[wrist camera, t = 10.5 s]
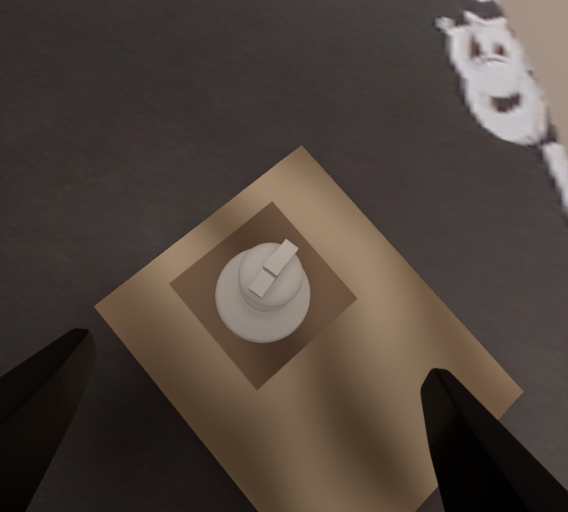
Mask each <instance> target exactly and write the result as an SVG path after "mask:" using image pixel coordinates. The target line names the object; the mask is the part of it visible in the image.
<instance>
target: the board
mask: <svg viewBox="0 0 568 512" xmlns="http://www.w3.org/2000/svg"><path fill="white" fill-rule="evenodd" d="M285 239H287V240H288V241H290V242H291V243H292V244H294V245H295V246H296V247H298V250H297V252H296V253H295V254H296V255H297V257H298V258H299V260H300V262H301V265H302V268H303V270H304V271H305V273H306V276H307V278H308V281H309V285H310V304H309V308H308V311H307V314H306V316H305V318H304V320H303V321H302V323H301V324H300V325H299V327H298V328H297V329H296V330H295V331H293V332H292V333H291V334H290V335H288V336H286V337H285V338H283V339H280V340H278V341H274V342H269V343H256V342H251V341H248V340H245V339H243V338H241V337H239V336H237V335H236V334H234V333H233V332H232V331H231V330H230V329H229V328H228V327H227V326H226V325H225V324H224V322H223V321H222V319H221V317H220V315H219V313H218V310H217V306H216V300H215V291H216V285H217V281H218V278H219V276H220V274H221V272H222V270H223V269H224V267H225V266H226V265H227V263H228V262H229V261H230V260H231V259H233V258H234V257H235V256H236V255H238V254H240V253H241V252H243V251H246V250H249V249H252V248H253V247H255V246H257V245H260V244H263V243H278V244H281V245H282V243H283V242H284V241H285ZM94 307H95V308H96V310H97V311H98V312H99V313H100V315H101V316H102V317H103V318H104V320H105V321H106V322H107V323H108V325H109V326H110V327H111V328H112V330H113V331H114V332H115V333H116V335H117V336H118V337H119V338H120V340H121V341H122V342H123V343H124V345H125V346H126V347H127V348H128V350H129V351H130V352H131V353H132V355H133V356H134V357H135V358H136V360H137V361H138V362H139V363H140V365H141V366H142V367H143V368H144V370H145V371H146V372H147V373H148V375H149V376H150V377H151V378H152V380H153V381H154V382H155V383H156V385H157V386H158V387H159V388H160V390H161V391H162V392H163V393H164V395H165V396H166V397H167V398H168V400H169V401H170V402H171V403H172V405H173V406H174V407H175V408H176V410H177V411H178V412H179V413H180V415H181V416H182V417H183V418H184V420H185V421H186V422H187V423H188V425H189V426H190V427H191V428H192V430H193V431H194V432H195V433H196V435H197V436H198V437H199V438H200V440H201V441H202V442H203V443H204V445H205V446H206V447H207V448H208V450H209V451H210V452H211V453H212V455H213V456H214V457H215V458H216V460H217V461H218V462H219V463H220V465H221V466H222V467H223V468H224V470H225V471H226V472H227V473H228V475H229V476H230V477H231V478H232V480H233V481H234V482H235V483H236V485H237V486H238V487H239V488H240V490H241V491H242V492H243V493H244V495H245V496H246V497H247V498H248V500H249V501H250V502H251V503H252V505H253V506H254V507H255V508H256V510H257V511H258V512H415V511H416V510H417V509H418V508H419V507H420V506H421V504H422V503H423V502H424V501H425V500H426V499H427V498H428V497H429V496H430V494H431V493H432V492H433V491H434V490H435V489H436V488H437V487H438V483H437V479H436V475H435V472H434V468H433V464H432V460H431V456H430V452H429V447H428V441H427V435H426V428H425V422H424V415H423V409H422V402H421V396H420V389H421V386H422V384H423V382H424V380H425V378H426V377H427V375H428V373H429V371H430V370H431V369H432V368H441V369H447V370H449V371H450V372H451V373H452V374H453V375H454V376H455V377H456V378H457V379H458V380H459V381H460V382H461V383H462V384H463V385H464V386H465V387H466V388H467V389H468V390H469V391H470V392H471V393H472V394H473V395H474V396H475V397H476V398H477V399H478V400H479V401H480V402H481V403H482V404H483V405H484V407H485V408H486V409H487V410H488V411H489V412H490V413H491V414H492V415H493V416H494V417H495V418H496V419H497V420H498V419H499V418H500V417H501V416H502V415H503V414H504V413H505V412H506V410H507V409H508V408H509V407H510V406H511V405H512V404H513V403H514V402H515V400H516V399H517V398H518V397H519V396H520V395H521V394H522V393H523V391H522V390H521V389H520V387H519V386H518V385H517V384H516V383H515V382H514V381H513V380H512V379H511V377H510V376H509V375H508V374H507V373H506V372H505V371H504V370H503V369H502V367H501V366H500V365H499V364H498V363H497V362H496V361H495V360H494V359H493V357H492V356H491V355H490V354H489V353H488V352H487V351H486V350H485V349H484V347H483V346H482V345H481V344H480V343H479V342H478V341H477V340H476V339H475V337H474V336H473V335H472V334H471V333H470V332H469V331H468V330H467V329H466V327H465V326H464V325H463V324H462V323H461V322H460V321H459V320H458V319H457V317H456V316H455V315H454V314H453V313H452V312H451V311H450V310H449V309H448V307H447V306H446V305H445V304H444V303H443V302H442V301H441V300H440V299H439V297H438V296H437V295H436V294H435V293H434V292H433V291H432V290H431V289H430V287H429V286H428V285H427V284H426V283H425V282H424V281H423V280H422V279H421V277H420V276H419V275H418V274H417V273H416V272H415V271H414V270H413V269H412V267H411V266H410V265H409V264H408V263H407V262H406V261H405V260H404V258H403V257H402V256H401V255H400V254H399V253H398V252H397V251H396V250H395V248H394V247H393V246H392V245H391V244H390V243H389V242H388V241H387V240H386V238H385V237H384V236H383V235H382V234H381V233H380V232H379V231H378V230H377V228H376V227H375V226H374V225H373V224H372V223H371V222H370V221H369V220H368V218H367V217H366V216H365V215H364V214H363V213H362V212H361V211H360V210H359V208H358V207H357V206H356V205H355V204H354V203H353V202H352V201H351V200H350V198H349V197H348V196H347V195H346V194H345V193H344V192H343V191H342V190H341V188H340V187H339V186H338V185H337V184H336V183H335V182H334V181H333V180H332V178H331V177H330V176H329V175H328V174H327V173H326V172H325V171H324V170H323V168H322V167H321V166H320V165H319V164H318V163H317V162H316V161H315V160H314V158H313V157H312V156H311V155H310V154H309V153H308V152H307V151H306V150H305V148H304V147H303V146H302V145H301V146H300V147H299V148H297V149H296V150H295V151H293V152H292V153H291V154H290V155H288V156H287V157H286V158H284V159H283V160H282V161H281V162H279V163H278V164H277V165H275V166H274V167H273V168H271V169H270V170H269V171H268V172H266V173H265V174H264V175H262V176H261V177H260V178H259V179H257V180H256V181H255V182H253V183H252V184H251V185H250V186H248V187H247V188H246V189H244V190H243V191H242V192H241V193H239V194H238V195H237V196H235V197H234V198H233V199H232V200H230V201H229V202H228V203H226V204H225V205H224V206H223V207H221V208H220V209H219V210H217V211H216V212H215V213H214V214H212V215H211V216H210V217H208V218H207V219H206V220H205V221H203V222H202V223H201V224H199V225H198V226H197V227H196V228H194V229H193V230H192V231H190V232H189V233H188V234H187V235H185V236H184V237H183V238H181V239H180V240H179V241H178V242H176V243H175V244H174V245H172V246H171V247H170V248H169V249H167V250H166V251H165V252H163V253H162V254H161V255H160V256H158V257H157V258H156V259H154V260H153V261H152V262H150V263H149V264H148V265H147V266H145V267H144V268H143V269H141V270H140V271H139V272H138V273H136V274H135V275H134V276H132V277H131V278H130V279H129V280H127V281H126V282H125V283H123V284H122V285H121V286H120V287H118V288H117V289H116V290H114V291H113V292H112V293H111V294H109V295H108V296H107V297H105V298H104V299H103V300H102V301H100V302H99V303H98V304H96V305H95V306H94Z"/></svg>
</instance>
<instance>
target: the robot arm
mask: <svg viewBox="0 0 568 512" xmlns="http://www.w3.org/2000/svg"><path fill="white" fill-rule="evenodd" d="M96 355H97V351H96V346H95V341H94V336H93V333H92V331H91V330H88V329H79V328H75V329H72V330H70V331H69V332H67V333H66V334H64V335H63V336H61V337H60V338H58V339H57V340H55V341H54V342H52V343H51V344H49V345H48V346H46V347H45V348H43V349H42V350H40V351H39V352H37V353H36V354H34V355H33V356H31V357H30V358H28V359H27V360H25V361H24V362H22V363H21V364H19V365H18V366H16V367H15V368H13V369H12V370H10V371H9V372H7V373H6V374H4V375H3V376H1V377H0V512H25V511H26V509H27V507H28V505H29V504H30V502H31V500H32V498H33V496H34V494H35V492H36V490H37V488H38V486H39V484H40V482H41V480H42V478H43V476H44V474H45V472H46V470H47V468H48V466H49V464H50V462H51V461H52V459H53V457H54V455H55V453H56V451H57V449H58V447H59V445H60V443H61V441H62V439H63V437H64V435H65V433H66V431H67V429H68V427H69V425H70V423H71V421H72V419H73V417H74V414H75V412H76V410H77V407H78V405H79V402H80V399H81V397H82V394H83V391H84V389H85V386H86V384H87V381H88V378H89V376H90V373H91V371H92V368H93V365H94V363H95V360H96ZM420 396H421V402H422V409H423V415H424V422H425V428H426V435H427V441H428V447H429V452H430V456H431V460H432V464H433V468H434V472H435V475H436V479H437V483H438V487H439V491H440V494H441V498H442V502H443V506H444V510H445V512H568V491H567V490H566V489H565V488H564V487H563V486H562V485H561V484H560V483H559V482H558V481H557V480H556V479H555V478H554V477H553V476H552V475H551V474H550V473H549V472H548V471H547V470H546V468H545V467H544V466H543V465H542V464H541V463H540V462H539V461H538V460H537V459H536V458H535V457H534V456H533V455H532V454H531V453H530V452H529V451H528V450H527V449H526V448H525V447H524V446H523V445H522V444H521V443H520V442H519V441H518V440H517V439H516V438H515V437H514V436H513V435H512V434H511V433H510V432H509V431H508V430H507V429H506V428H505V427H504V426H503V425H502V424H501V423H500V422H499V421H498V420H497V419H496V418H495V417H494V416H493V415H492V414H491V413H490V412H489V411H488V410H487V409H486V408H485V407H484V405H483V404H482V403H481V402H480V401H479V400H478V399H477V398H476V397H475V396H474V395H473V394H472V393H471V392H470V391H469V390H468V389H467V388H466V387H465V386H464V385H463V384H462V383H461V382H460V381H459V380H458V379H457V378H456V377H455V376H454V375H453V374H452V373H451V372H450V371H449V370H447V369H441V368H432V369H431V370H430V371H429V373H428V375H427V377H426V378H425V380H424V382H423V384H422V386H421V389H420Z"/></svg>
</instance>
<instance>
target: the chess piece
mask: <svg viewBox="0 0 568 512" xmlns="http://www.w3.org/2000/svg"><path fill="white" fill-rule="evenodd" d="M297 250H298V247H296V246H295V245H294V244H292V243H291V242H290V241H288V240H287V239H285V241H284V242H283V243H282V245H281V244H278V243H263V244H260V245H257V246H255V247H253V248H252V249H249V250H246V251H243V252H241V253H240V254H238V255H236V256H235V257H234V258H233V259H231V260H230V261H229V262H228V263H227V265H226V266H225V267H224V269H223V270H222V272H221V274H220V276H219V278H218V281H217V285H216V291H215V300H216V306H217V310H218V313H219V315H220V317H221V319H222V321H223V322H224V324H225V325H226V326H227V327H228V328H229V329H230V330H231V331H232V332H233V333H234V334H236V335H237V336H239V337H241V338H243V339H245V340H248V341H251V342H256V343H269V342H274V341H278V340H280V339H283V338H285V337H286V336H288V335H290V334H291V333H292V332H293V331H295V330H296V329H297V328H298V327H299V325H300V324H301V323H302V321H303V320H304V318H305V316H306V314H307V311H308V308H309V304H310V285H309V281H308V278H307V276H306V273H305V271H304V270H303V268H302V265H301V262H300V260H299V258H298V257H297V255H296V254H295V253H296V252H297Z"/></svg>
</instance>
